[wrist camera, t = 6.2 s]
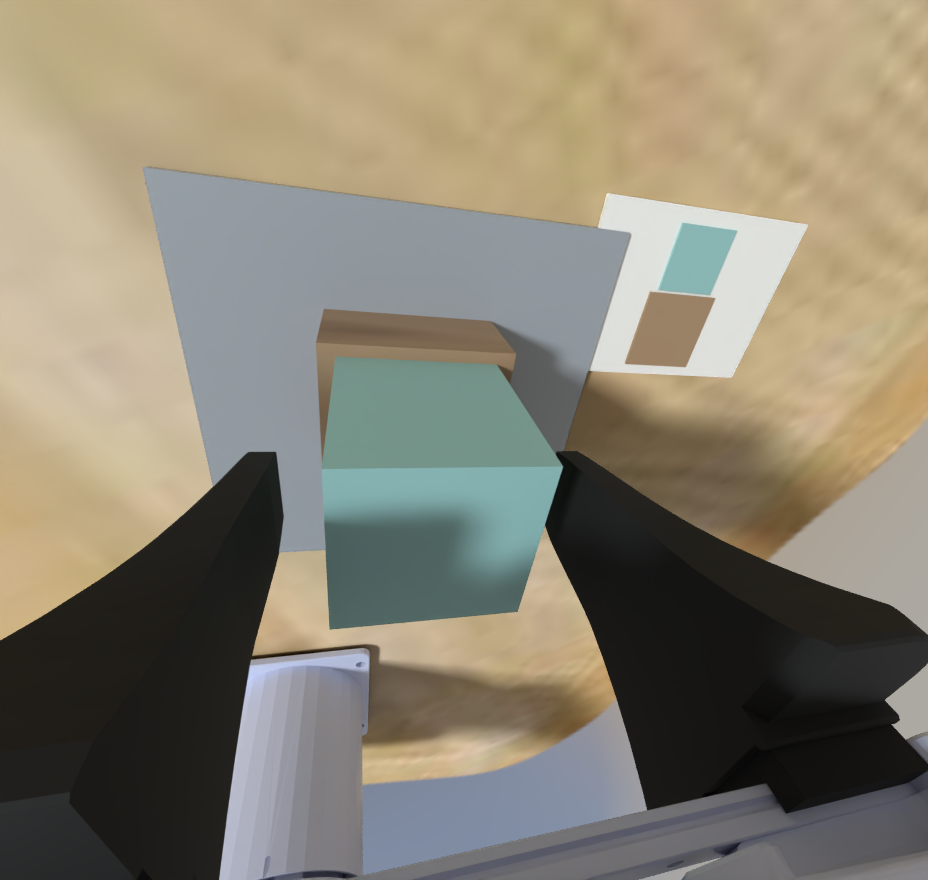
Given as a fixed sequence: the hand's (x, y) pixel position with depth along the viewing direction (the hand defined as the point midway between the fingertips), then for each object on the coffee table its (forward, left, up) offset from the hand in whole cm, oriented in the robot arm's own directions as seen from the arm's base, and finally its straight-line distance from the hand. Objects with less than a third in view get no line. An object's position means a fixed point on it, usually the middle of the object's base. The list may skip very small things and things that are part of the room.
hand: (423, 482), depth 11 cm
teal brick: (0, 0, -2) cm, 2 cm away
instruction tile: (+4, -10, -6) cm, 12 cm away
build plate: (-1, 0, -6) cm, 6 cm away
